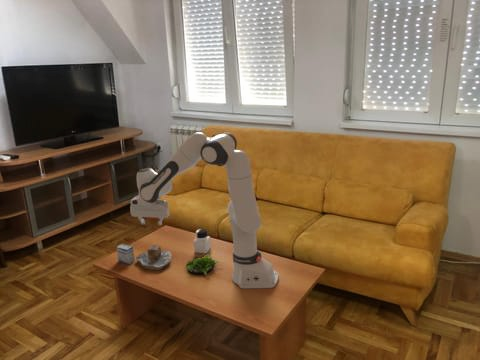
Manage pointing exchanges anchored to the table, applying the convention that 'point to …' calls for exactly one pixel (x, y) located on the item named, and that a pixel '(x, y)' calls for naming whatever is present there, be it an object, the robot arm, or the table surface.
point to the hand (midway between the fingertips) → (151, 224)
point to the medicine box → (125, 254)
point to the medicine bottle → (202, 241)
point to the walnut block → (154, 252)
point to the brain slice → (154, 264)
